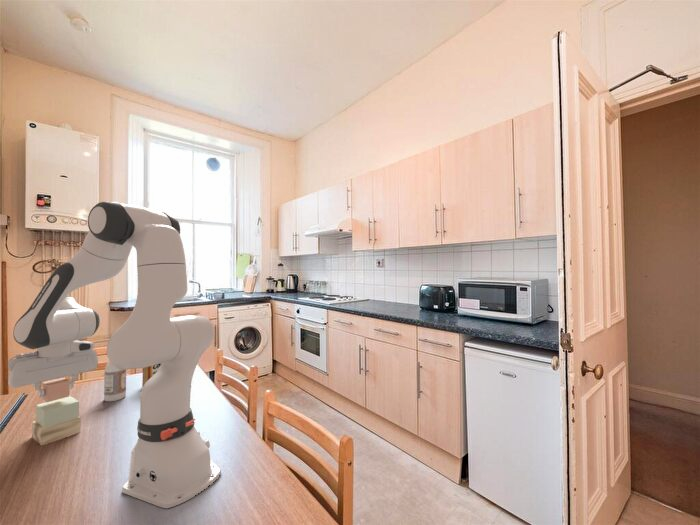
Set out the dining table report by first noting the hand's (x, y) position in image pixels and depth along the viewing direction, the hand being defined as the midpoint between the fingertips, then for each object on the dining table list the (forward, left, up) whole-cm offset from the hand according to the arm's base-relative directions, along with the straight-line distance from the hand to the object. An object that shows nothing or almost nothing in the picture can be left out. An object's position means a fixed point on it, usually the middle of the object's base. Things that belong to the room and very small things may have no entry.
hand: (56, 392), depth 95 cm
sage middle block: (0, -1, -8) cm, 9 cm away
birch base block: (0, 0, -14) cm, 14 cm away
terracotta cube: (0, 0, -2) cm, 2 cm away
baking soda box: (+16, -38, -13) cm, 43 cm away
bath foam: (+16, -22, -13) cm, 30 cm away
